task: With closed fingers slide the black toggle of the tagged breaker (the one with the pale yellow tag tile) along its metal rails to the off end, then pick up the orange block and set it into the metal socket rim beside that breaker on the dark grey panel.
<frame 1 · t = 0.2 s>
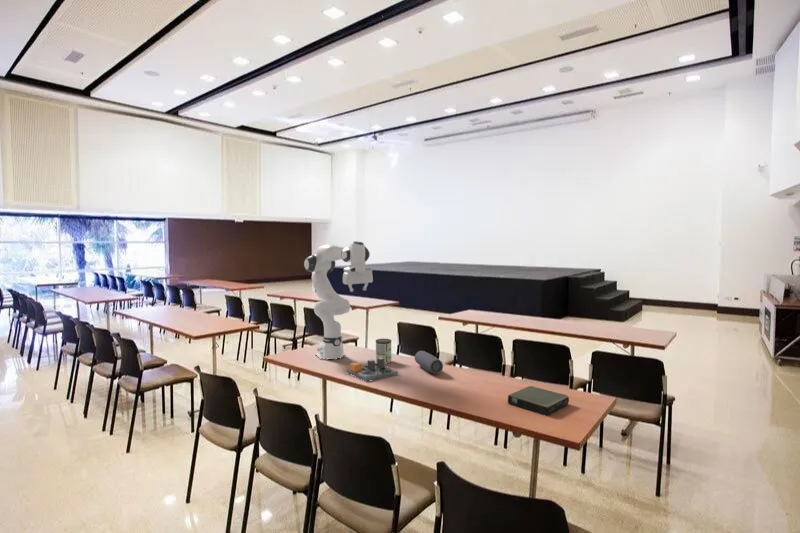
hand: (358, 290, 274), 48 cm above the table, tool pointing down, fingers open, 8 cm apart
coffee can: (383, 362, 290), on the table
panel: (372, 374, 264), on the table
bluetooth speaker: (428, 370, 272), on the table
network switch: (538, 405, 217), on the table
orange block: (356, 370, 265), point 2 cm above the table, touching panel
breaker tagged: (371, 364, 264), point 5 cm above the table, slide at 0.0 cm
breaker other: (380, 362, 269), point 5 cm above the table, slide at 0.0 cm
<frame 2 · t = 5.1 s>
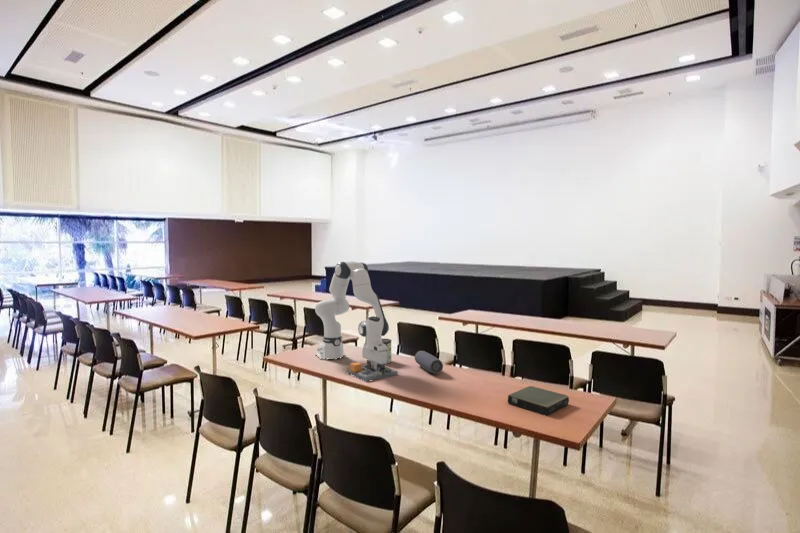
hand: (374, 368, 262), 4 cm above the table, tool pointing down, fingers closed
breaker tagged: (370, 364, 265), point 5 cm above the table, slide at 0.9 cm, touching gripper
everything else where it was.
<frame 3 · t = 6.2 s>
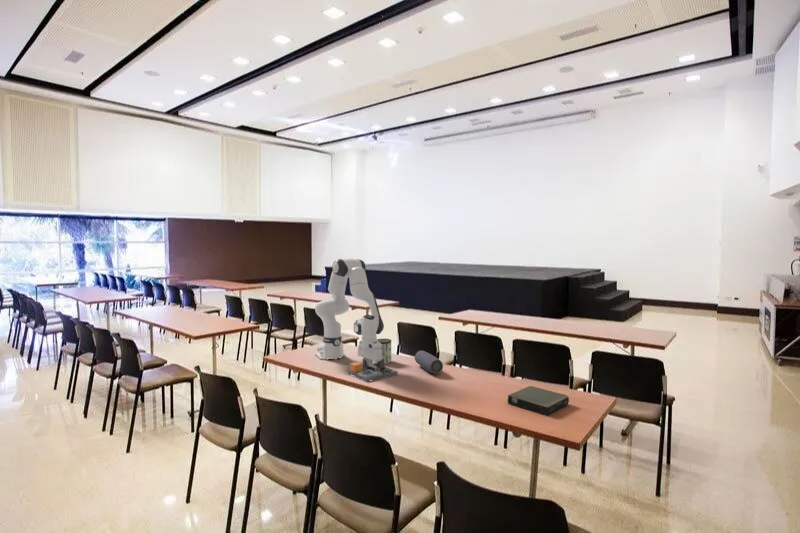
hand: (369, 366, 266), 4 cm above the table, tool pointing down, fingers closed
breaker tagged: (366, 362, 269), point 5 cm above the table, slide at 5.3 cm, touching gripper
everything else where it was.
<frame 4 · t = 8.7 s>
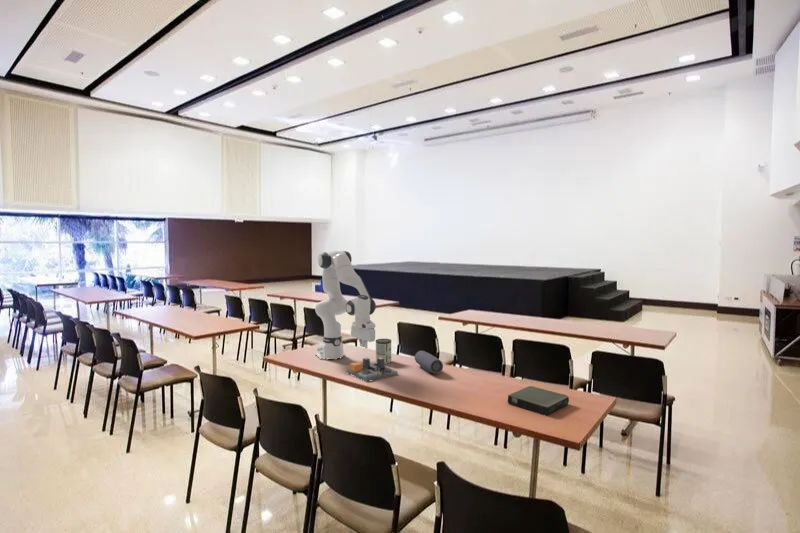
hand: (362, 346, 264), 16 cm above the table, tool pointing down, fingers closed
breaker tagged: (366, 363, 268), point 5 cm above the table, slide at 5.0 cm
everything else where it was.
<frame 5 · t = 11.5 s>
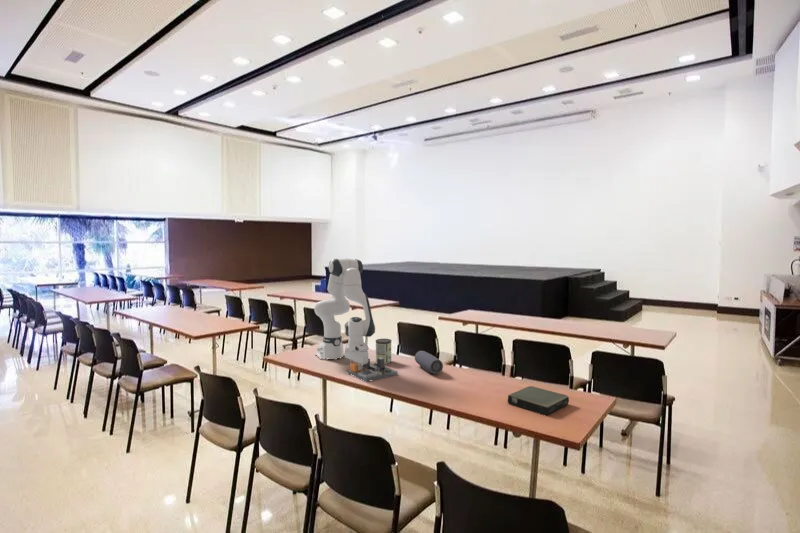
hand: (356, 368, 264), 3 cm above the table, tool pointing down, fingers closed on orange block, 5 cm apart
orange block: (356, 370, 265), point 2 cm above the table, touching gripper, panel
everything else where it was.
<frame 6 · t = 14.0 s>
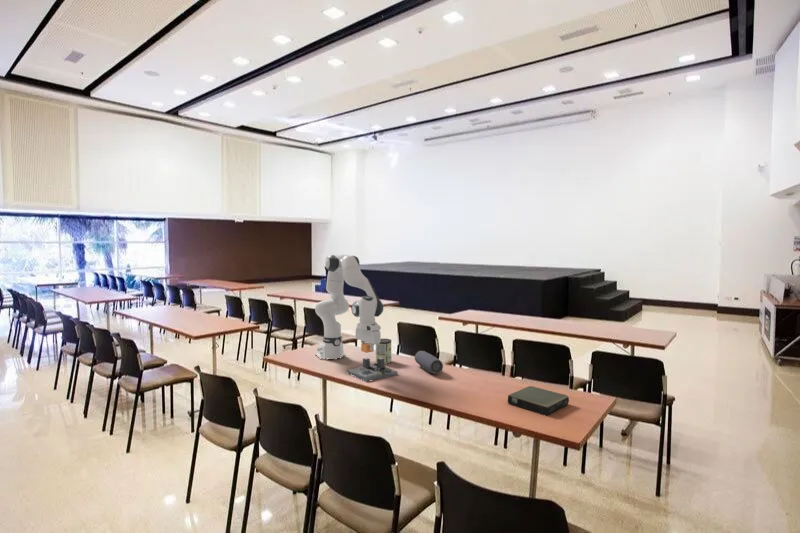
hand: (367, 349, 255), 17 cm above the table, tool pointing down, fingers closed on orange block, 5 cm apart
orange block: (367, 351, 255), point 16 cm above the table, touching gripper
everything else where it was.
when the fingers open (5 cm above the table, at t = 16.5 s): orange block drops 2 cm, resting on panel.
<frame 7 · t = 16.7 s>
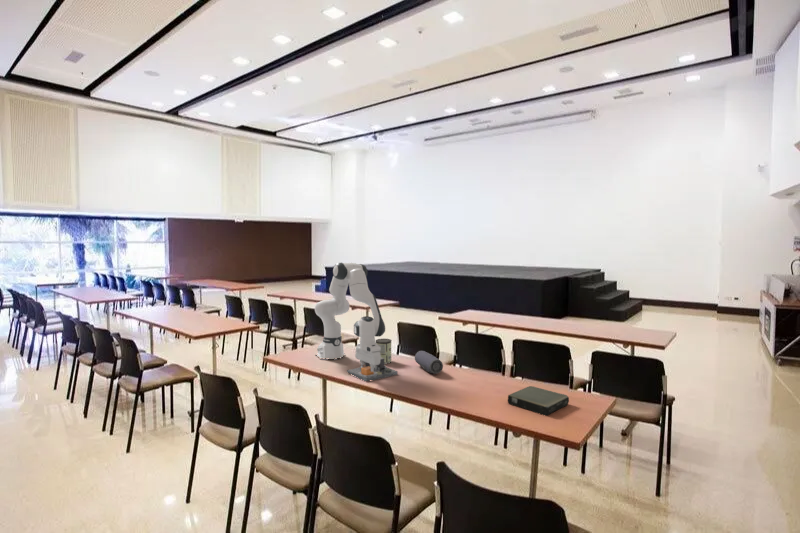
hand: (367, 369, 256), 5 cm above the table, tool pointing down, fingers open, 7 cm apart
orange block: (367, 374, 256), point 2 cm above the table, touching panel
everything else where it was.
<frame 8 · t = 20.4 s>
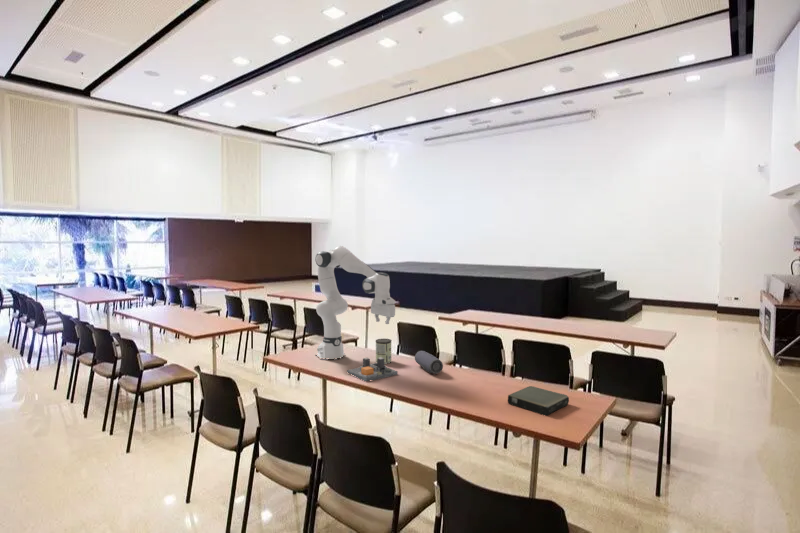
hand: (382, 322, 269), 29 cm above the table, tool pointing down, fingers open, 8 cm apart
nothing on the table moved.
at the end: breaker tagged slide at 5.0 cm; orange block 0.0 cm from the target spot on the panel, point 2.0 cm above the panel's base; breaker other slide at 0.0 cm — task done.
